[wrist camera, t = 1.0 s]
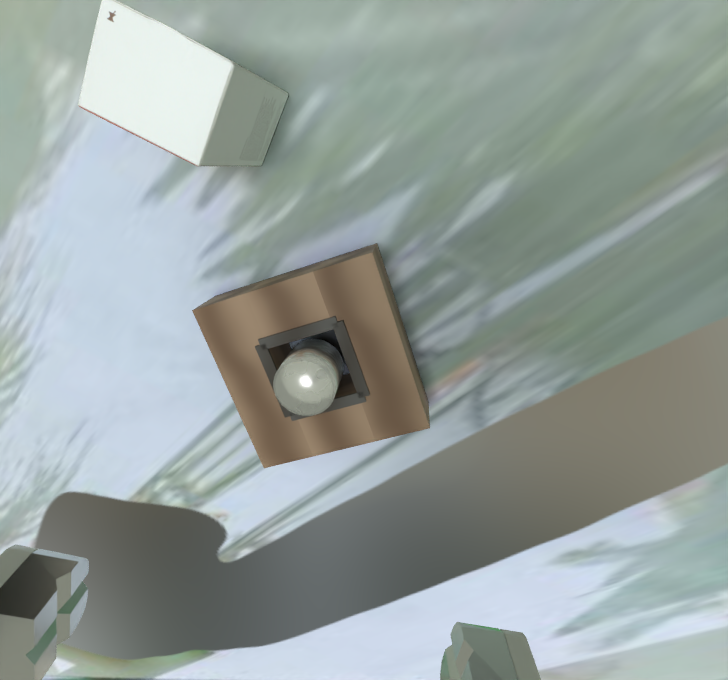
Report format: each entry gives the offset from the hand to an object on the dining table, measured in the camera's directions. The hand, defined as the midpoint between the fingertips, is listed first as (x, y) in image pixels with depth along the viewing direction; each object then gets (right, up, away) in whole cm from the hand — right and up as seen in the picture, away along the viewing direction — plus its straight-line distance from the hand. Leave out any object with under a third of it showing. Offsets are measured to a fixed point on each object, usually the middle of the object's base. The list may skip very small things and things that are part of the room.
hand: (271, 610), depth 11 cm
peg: (-2, +4, +32) cm, 32 cm away
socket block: (-2, +5, +35) cm, 36 cm away
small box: (-9, +25, +29) cm, 40 cm away
